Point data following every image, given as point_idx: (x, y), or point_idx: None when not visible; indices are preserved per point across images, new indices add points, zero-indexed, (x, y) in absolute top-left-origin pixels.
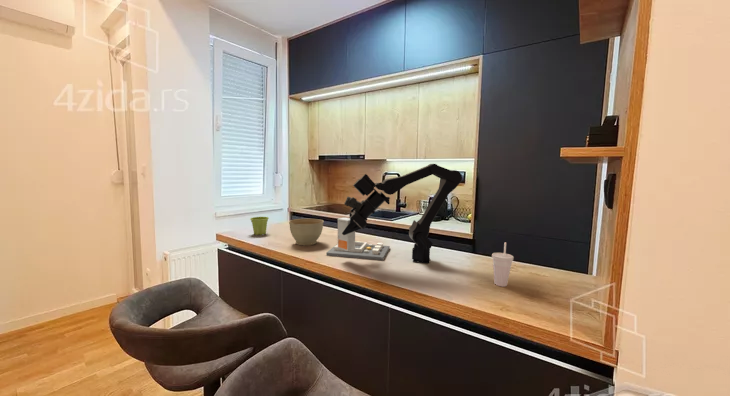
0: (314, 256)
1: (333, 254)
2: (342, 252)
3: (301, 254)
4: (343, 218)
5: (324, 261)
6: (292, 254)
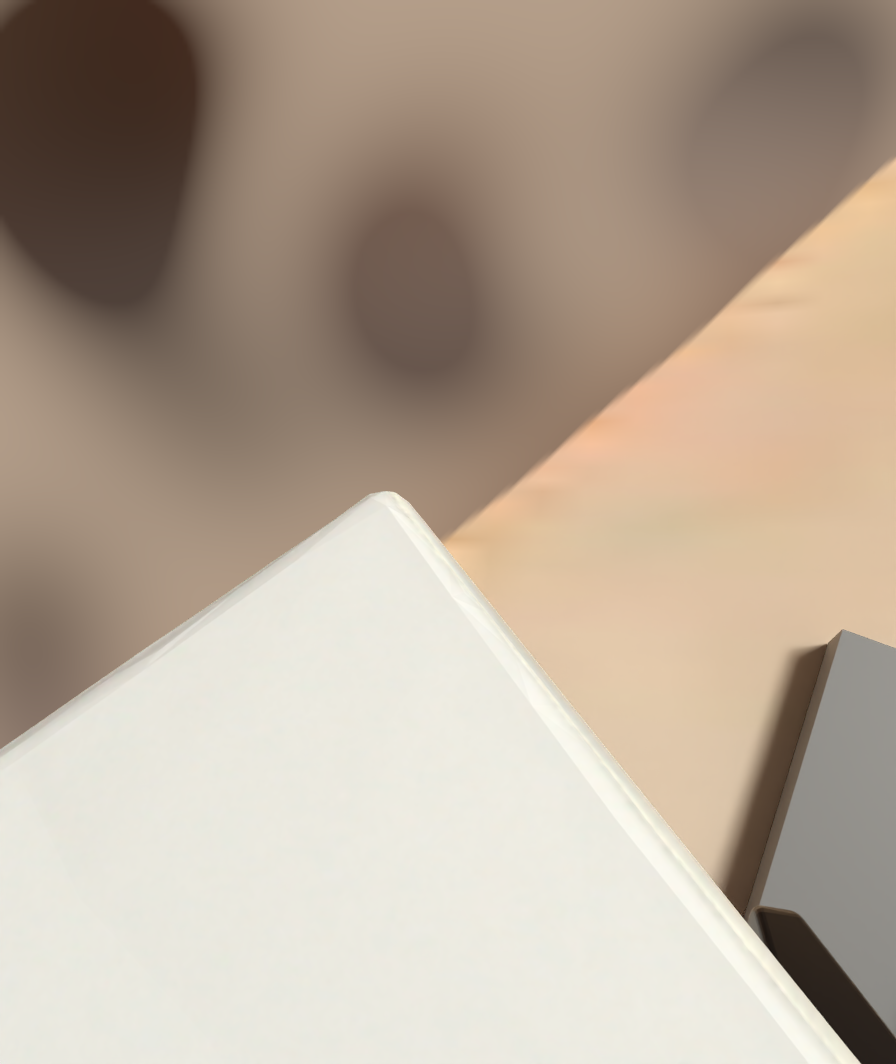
0: (769, 474)
1: (798, 753)
2: (860, 938)
3: (867, 315)
4: (330, 950)
5: (520, 603)
6: (862, 222)
